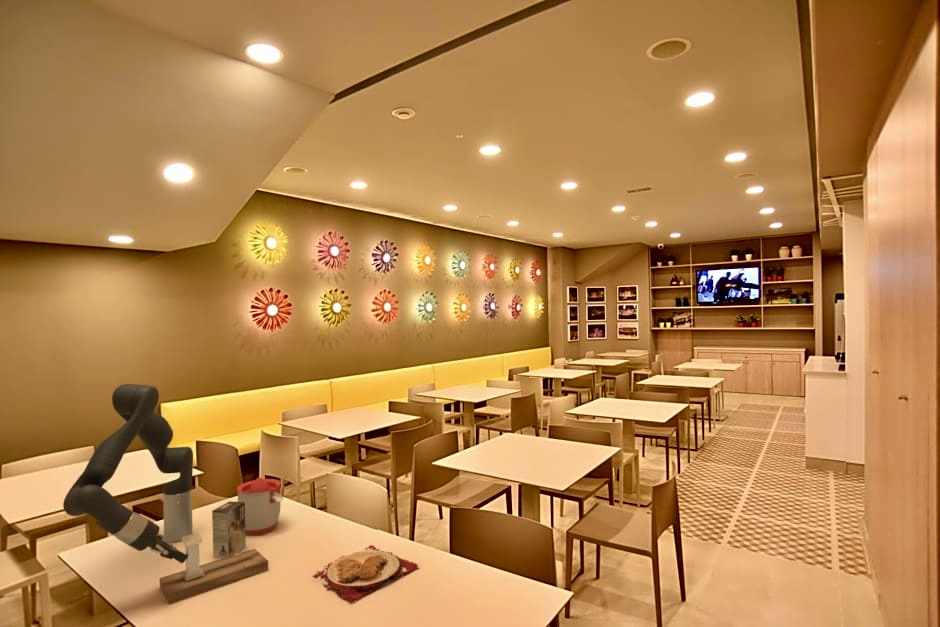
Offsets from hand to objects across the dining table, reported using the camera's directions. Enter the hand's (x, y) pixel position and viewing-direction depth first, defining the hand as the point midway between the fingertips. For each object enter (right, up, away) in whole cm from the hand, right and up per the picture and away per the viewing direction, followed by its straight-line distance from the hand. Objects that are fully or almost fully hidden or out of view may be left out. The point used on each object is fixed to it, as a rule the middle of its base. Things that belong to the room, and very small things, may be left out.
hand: (184, 559), depth 152 cm
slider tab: (+2, -6, +1) cm, 6 cm away
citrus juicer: (+6, -9, +42) cm, 43 cm away
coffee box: (+2, -9, +24) cm, 25 cm away
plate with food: (+51, -9, +9) cm, 53 cm away
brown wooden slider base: (+7, -9, +6) cm, 12 cm away
